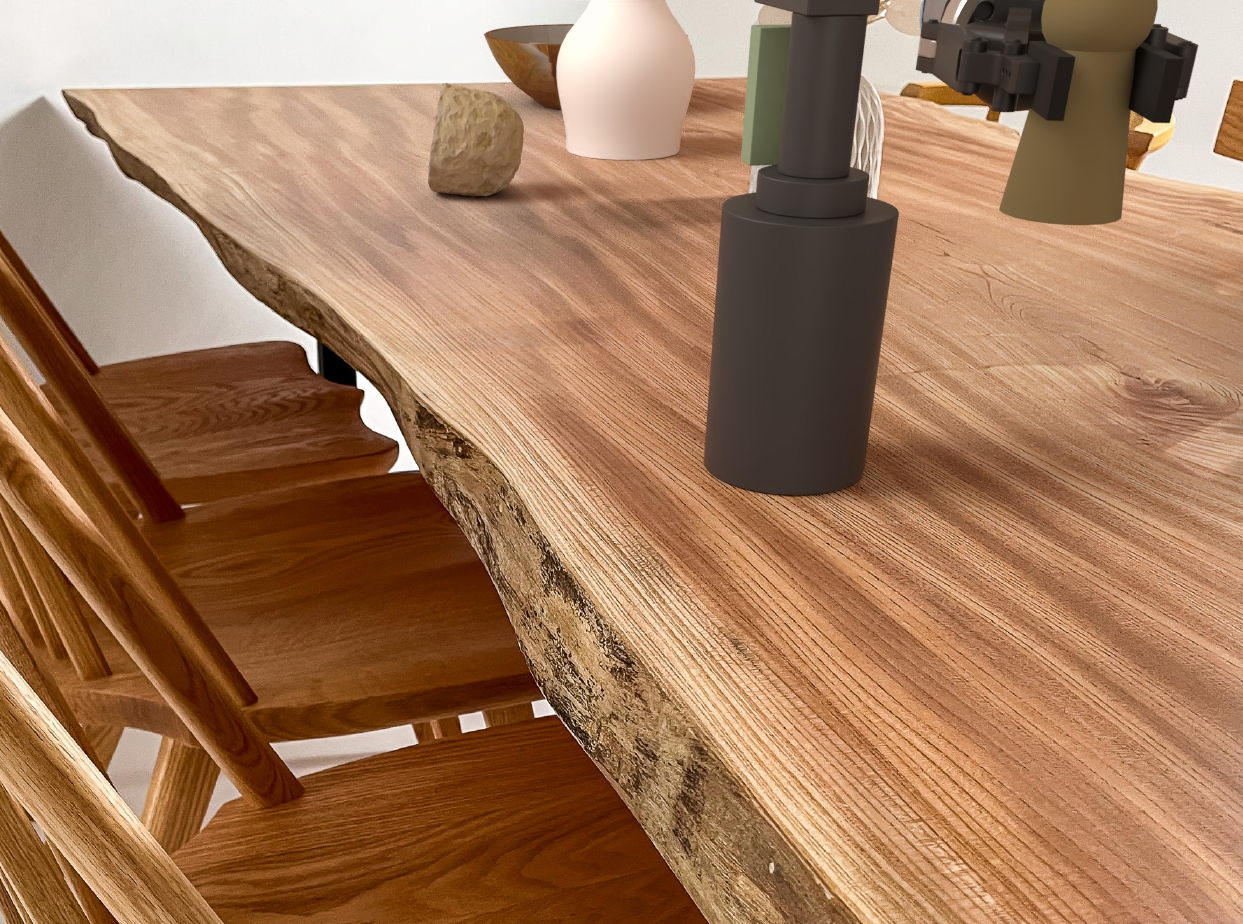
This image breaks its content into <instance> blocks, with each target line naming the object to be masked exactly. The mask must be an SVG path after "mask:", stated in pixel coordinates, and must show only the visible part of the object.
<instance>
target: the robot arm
mask: <svg viewBox="0 0 1243 924" xmlns="http://www.w3.org/2000/svg"><path fill="white" fill-rule="evenodd" d="M1044 2H1045V0H921V3H920V9H919V29H920V34H919V36H920V37H919V42H918V49H917V56H916V64H915V71H918V72H921V74H930V75H932V76H934V77H935V78H937V79H938V80H939V81H941V82H942V83H943V84H945V85H946V86H947V87H949V89H952V90H953V91H955V92H956V93H960V94H961V95H962V96H967V97H969V96H973V95H974V96H976V97H977V99H978V100H980V101H982V102H983V103H985V104H986V105H987V106H989V107H990V108H991V109H990V110H991V111H992V112H996V113H1015V112H1025V111H1029V109H1030V108H1031V109H1032V110H1033V111H1035V112H1036V113H1037V114H1039V115H1040V116H1041V117H1043V118H1044V119H1045V120H1047V121H1064V116H1065V111H1066V105H1067V100H1068V95H1069V90H1070V84H1071V79H1072V74H1073V69H1074V64H1075V58H1076V57H1075V56H1073V55H1071V54H1069V53H1067V52H1065V51H1063V50H1061V49H1059V48H1057V47H1055V46H1054V45H1050V44H1048V43H1047V42H1046V40H1045V37H1044V35H1043V33H1042V21H1041V17H1042V11H1043V5H1044ZM1198 48H1199V44H1198V43H1195V42H1193V41H1192V40H1188V39H1185V38H1183V37H1181V36H1178V35H1176V34H1173V33H1172V32H1169V28H1168V27H1167V26H1163V25H1162V24H1161V23H1154V24H1153V26H1152V29H1151V31H1150V33H1149V35H1148V37H1147V38H1146V39H1145V40H1144V41H1143V42H1142V44H1141V45H1140V46H1139V47H1138V48H1137V49H1136V55H1135V66H1134V77H1133V84H1132V91H1131V97H1130V104H1129V109H1130V110H1131V111H1132V112H1133V113H1135V114H1136V115H1138V116H1140V117H1142V118H1143V119H1146V120H1147V121H1149V122H1151V123H1152V124H1170V123H1171V120H1172V115H1173V111H1174V108H1175V102H1177V101H1181V100H1183V99H1187V96H1188V92H1189V88H1190V85H1191V84H1190V83H1191V79H1192V76H1193V70H1194V67H1195V63H1196V58H1197V54H1198V50H1199V49H1198Z"/></svg>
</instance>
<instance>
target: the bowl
mask: <svg viewBox="0 0 1243 924" xmlns="http://www.w3.org/2000/svg"><path fill="white" fill-rule="evenodd" d="M574 24H575V23H555V24H554V23H553V24H550V23H549V24H530V25H517V26H508V27H502V28H495V29H491V30H488V31H486V32H485V33H484V34H483V36H484V38H485V41H486V43H487V45H488V48H489V50H490V52H491V54H492V56H493V58H494V60H495V61H496V63H497V64H498V66H499V67H500V70H502V72H503V73H504V74H505V76H506V77H507V78H508V79H509V80H510V82H511V83H512V84H513V85H514V86H515V87H517V89H519V90H520V91H522V92H523V93H525V94H526V95H527V96H528V97H530V98H531V99H532V100H534V101H535V102H537V103H538V104H540V105H541V106H542V107H545V108H549V109H555V110H562V109H561V104H560V99H559V93H558V87H557V60H558V54H559V51H560V48H561V45H562V43H563V41H564V39H565V37H566V35H567V34H568V32H569V31H570V30H571V28H572V27H573V26H574ZM686 35H687V36H688V37H689V35H688V34H686Z"/></svg>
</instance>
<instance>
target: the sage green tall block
mask: <svg viewBox="0 0 1243 924" xmlns="http://www.w3.org/2000/svg"><path fill="white" fill-rule="evenodd" d="M790 32H791V23H790V24H789V23H788V24H786V23H785V24H751V26H750V37H749V47H748V48H749V49H748V61H747V63H748V64H747V76H746V89H745V100H744V114H743V127H742V140H741V153H740V162H742V163H745V164H746V165H748V166H750V167H752V166H756V167H757V166H770V165H776V164H779V153H780V142H781V131H782V120H783V109H784V98H785V87H786V76H787V65H788V54H789V43H790Z"/></svg>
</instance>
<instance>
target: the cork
mask: <svg viewBox="0 0 1243 924" xmlns="http://www.w3.org/2000/svg"><path fill="white" fill-rule="evenodd" d="M1158 3H1159V2H1158V0H1045V2H1044V5H1043V11H1042V17H1041V21H1042V33H1043V35H1044V37H1045V40H1046V42H1047V43H1048V44H1050V45H1054V46H1055V47H1057V48H1059V49H1061V50H1063V51H1065V52H1067V53H1069V54H1071V55H1073V56H1075V57H1076V58H1075V64H1074V69H1073V74H1072V79H1071V84H1070V90H1069V95H1068V100H1067V105H1066V111H1065V116H1064V121H1047V120H1045V119H1044V118H1043V117H1041V116H1040V115H1039V114H1037V113H1036V112H1035V111H1033V110H1032V109H1031V108H1030V109H1029V110H1028V113H1027V115H1026V119H1025V122H1024V125H1023V128H1022V132H1021V136H1020V138H1019V141H1018V145H1017V148H1016V152H1015V155H1014V158H1013V161H1012V165H1011V168H1010V171H1009V175H1008V178H1007V182H1006V185H1005V188H1004V191H1003V195H1002V198H1001V200H1000V201H1001V202H1000V204H999V208H998V211H1000V212H1001V213H1002V214H1003V215H1005V216H1008V217H1012V218H1013V219H1019V220H1023V221H1027V222H1033V223H1034V222H1035V223H1041V224H1049V225H1059V226H1098V225H1107V224H1112V223H1116V222H1119V220H1121V219H1122V217H1123V205H1124V193H1125V192H1124V191H1125V182H1126V181H1125V180H1126V170H1127V159H1128V149H1129V148H1128V147H1129V135H1130V123H1131V114H1132V113H1131V110H1130V109H1129V104H1130V97H1131V91H1132V84H1133V77H1134V66H1135V55H1136V49H1137V48H1138V47H1139V46H1140V45H1141V44H1142V42H1143V41H1144V40H1145V39H1146V38H1147V37H1148V35H1149V33H1150V31H1151V29H1152V26H1153V24H1155V22H1156V17H1157V13H1158V7H1159V6H1158V5H1159V4H1158Z"/></svg>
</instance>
